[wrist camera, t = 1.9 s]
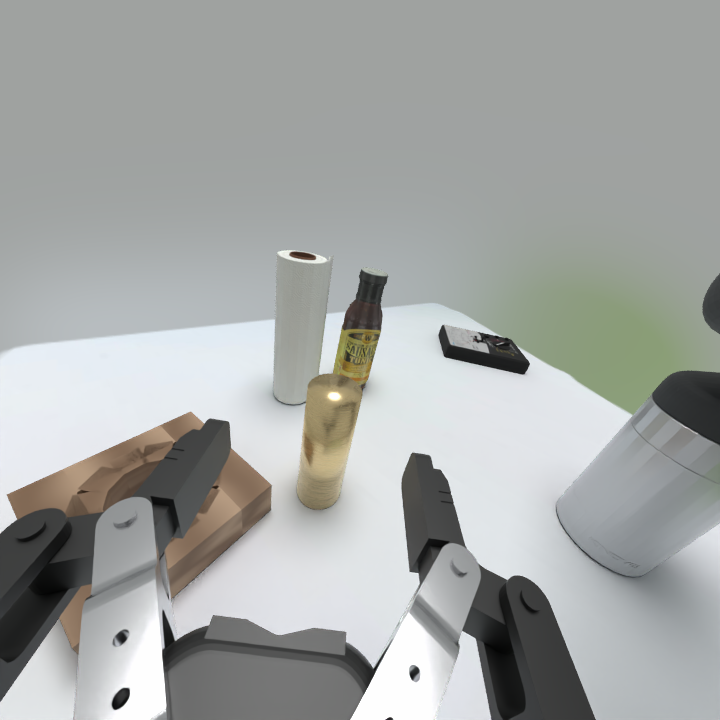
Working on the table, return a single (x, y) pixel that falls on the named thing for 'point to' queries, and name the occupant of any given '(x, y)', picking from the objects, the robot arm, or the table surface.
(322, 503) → the yellow cylinder peg
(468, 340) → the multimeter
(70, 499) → the jig
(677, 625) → the table surface
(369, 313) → the sauce bottle
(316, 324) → the paper towel roll
